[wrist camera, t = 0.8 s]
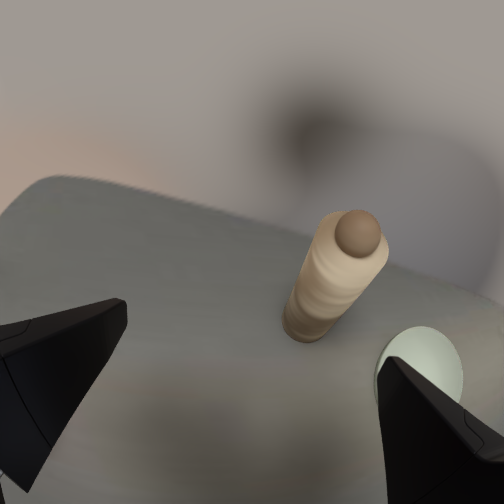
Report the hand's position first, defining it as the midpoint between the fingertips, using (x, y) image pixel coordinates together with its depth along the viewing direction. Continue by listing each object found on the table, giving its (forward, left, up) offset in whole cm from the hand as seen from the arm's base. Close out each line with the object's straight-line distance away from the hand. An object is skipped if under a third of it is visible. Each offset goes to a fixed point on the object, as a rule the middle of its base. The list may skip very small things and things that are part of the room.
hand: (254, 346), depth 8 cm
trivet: (-7, -16, -15) cm, 23 cm away
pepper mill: (+4, -8, -15) cm, 17 cm away
